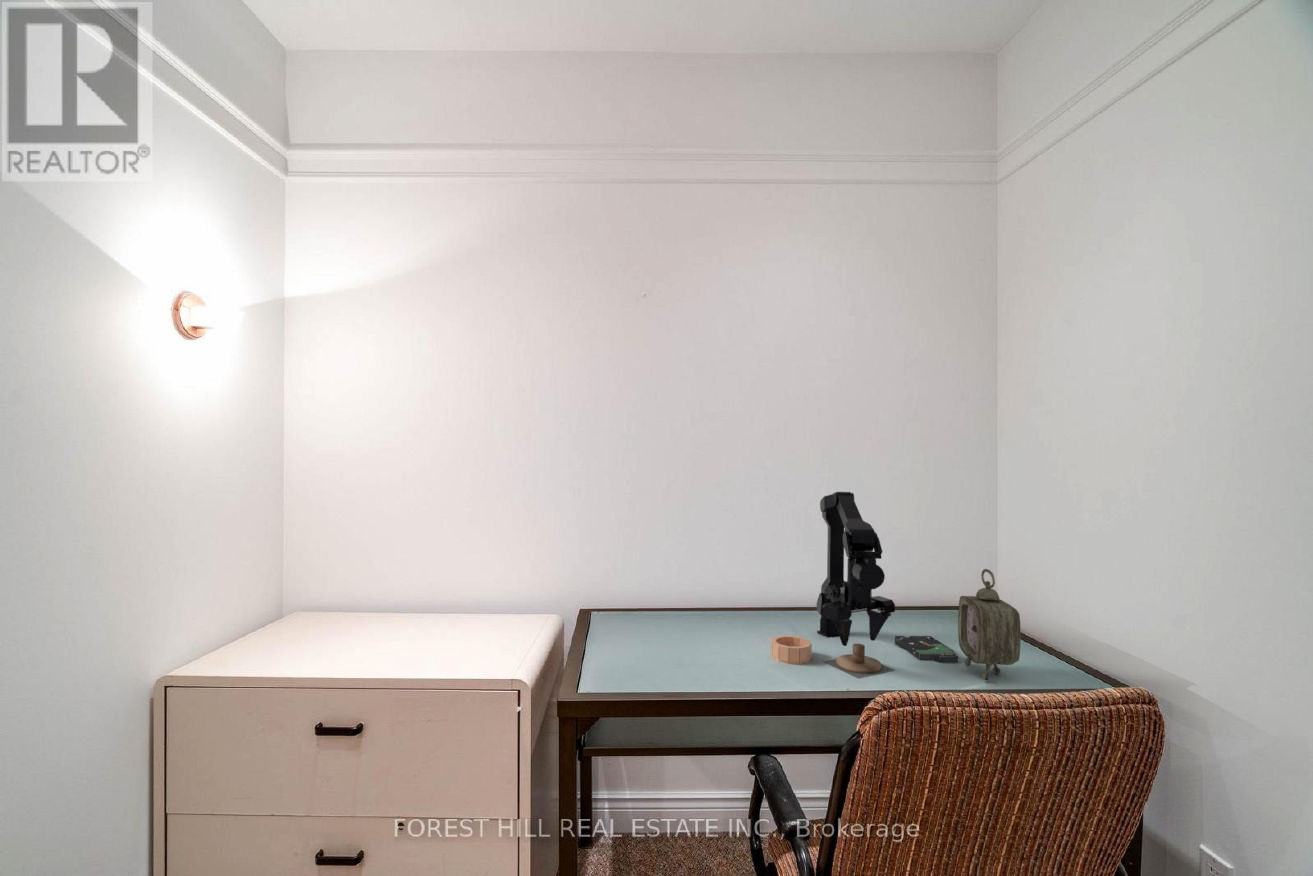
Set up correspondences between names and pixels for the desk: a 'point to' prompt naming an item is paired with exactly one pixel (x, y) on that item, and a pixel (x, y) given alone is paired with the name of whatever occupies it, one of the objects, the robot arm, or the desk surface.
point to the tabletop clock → (988, 629)
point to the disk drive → (926, 648)
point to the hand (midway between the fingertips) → (858, 642)
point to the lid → (858, 661)
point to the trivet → (858, 675)
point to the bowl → (791, 649)
